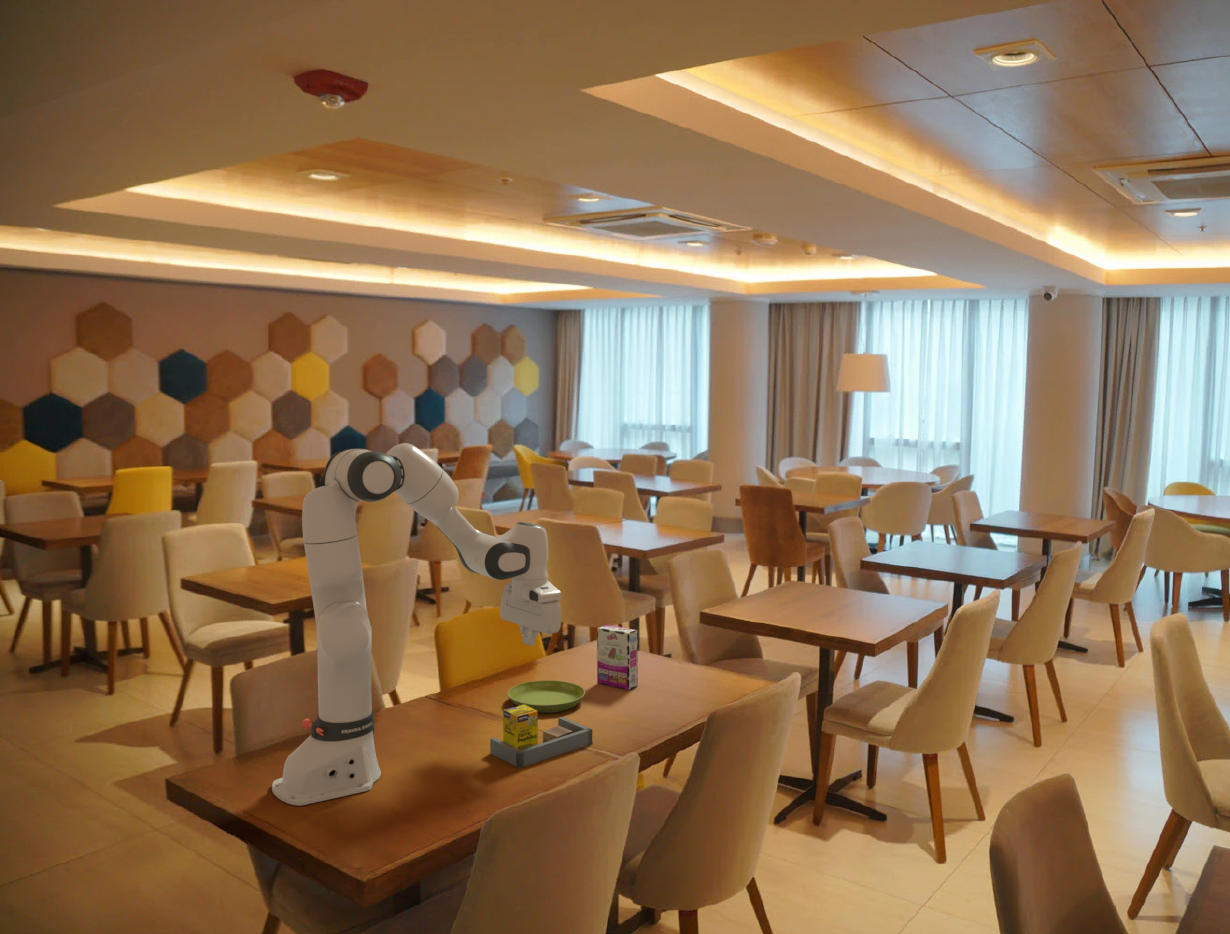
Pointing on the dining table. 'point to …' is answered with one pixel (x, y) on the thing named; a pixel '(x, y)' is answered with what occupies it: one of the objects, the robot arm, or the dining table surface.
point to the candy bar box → (617, 657)
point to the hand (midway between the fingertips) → (529, 644)
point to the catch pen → (543, 746)
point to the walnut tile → (555, 733)
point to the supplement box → (520, 727)
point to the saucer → (546, 695)
